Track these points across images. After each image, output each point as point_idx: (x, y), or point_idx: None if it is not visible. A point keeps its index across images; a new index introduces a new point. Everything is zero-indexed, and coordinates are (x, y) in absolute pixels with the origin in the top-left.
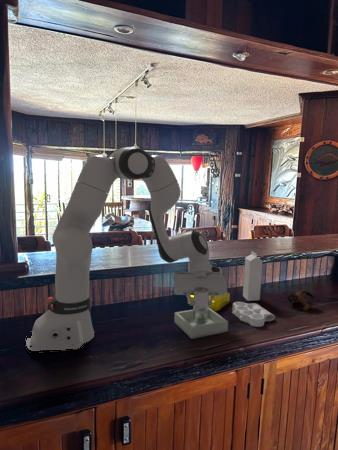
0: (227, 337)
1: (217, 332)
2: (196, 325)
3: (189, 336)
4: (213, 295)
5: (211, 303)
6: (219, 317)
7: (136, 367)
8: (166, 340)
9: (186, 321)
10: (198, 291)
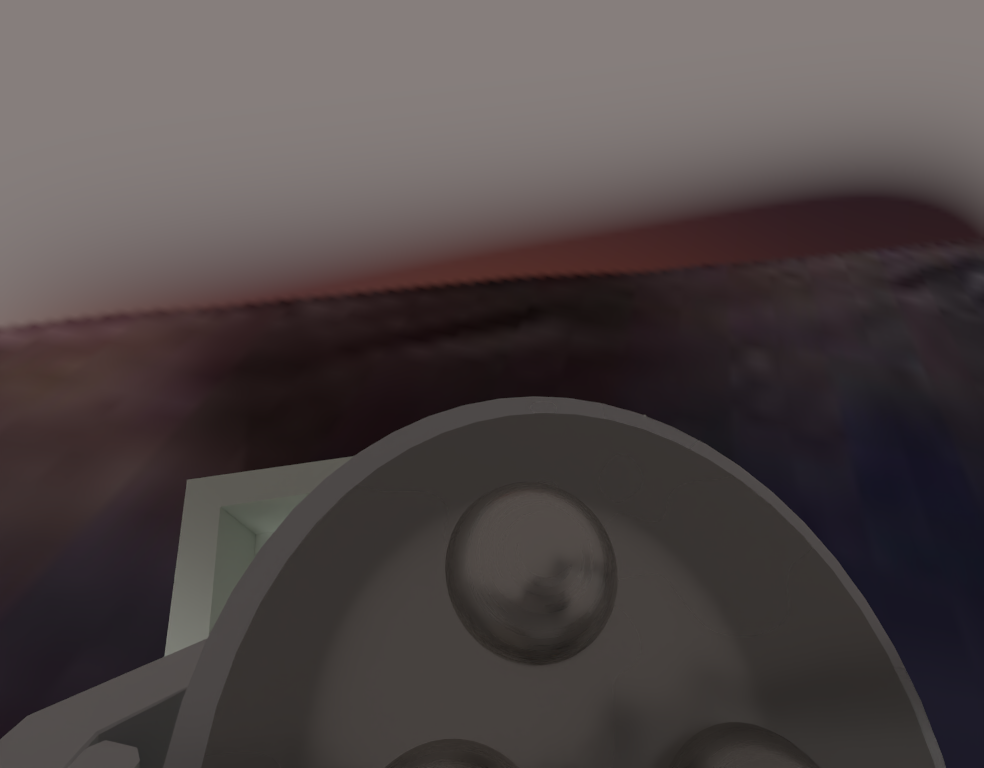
0: (303, 423)
1: None
2: None
3: None
4: (60, 735)
5: None
6: (210, 625)
7: (913, 262)
8: (806, 476)
9: None
10: (752, 502)
